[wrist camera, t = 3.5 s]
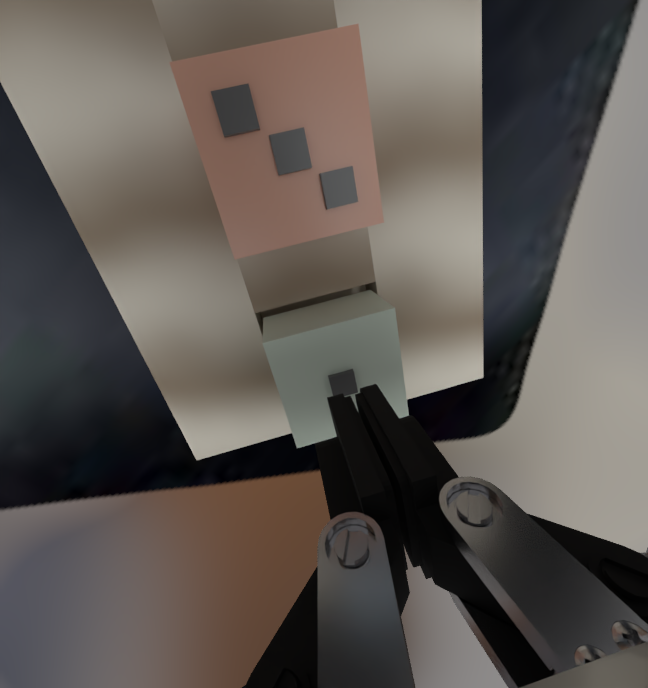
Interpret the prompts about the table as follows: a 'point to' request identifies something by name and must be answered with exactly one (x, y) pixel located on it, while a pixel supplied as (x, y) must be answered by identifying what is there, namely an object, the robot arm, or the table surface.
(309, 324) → the key one dot
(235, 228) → the key three dots
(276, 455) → the table surface
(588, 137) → the table surface
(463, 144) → the key panel
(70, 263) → the table surface
